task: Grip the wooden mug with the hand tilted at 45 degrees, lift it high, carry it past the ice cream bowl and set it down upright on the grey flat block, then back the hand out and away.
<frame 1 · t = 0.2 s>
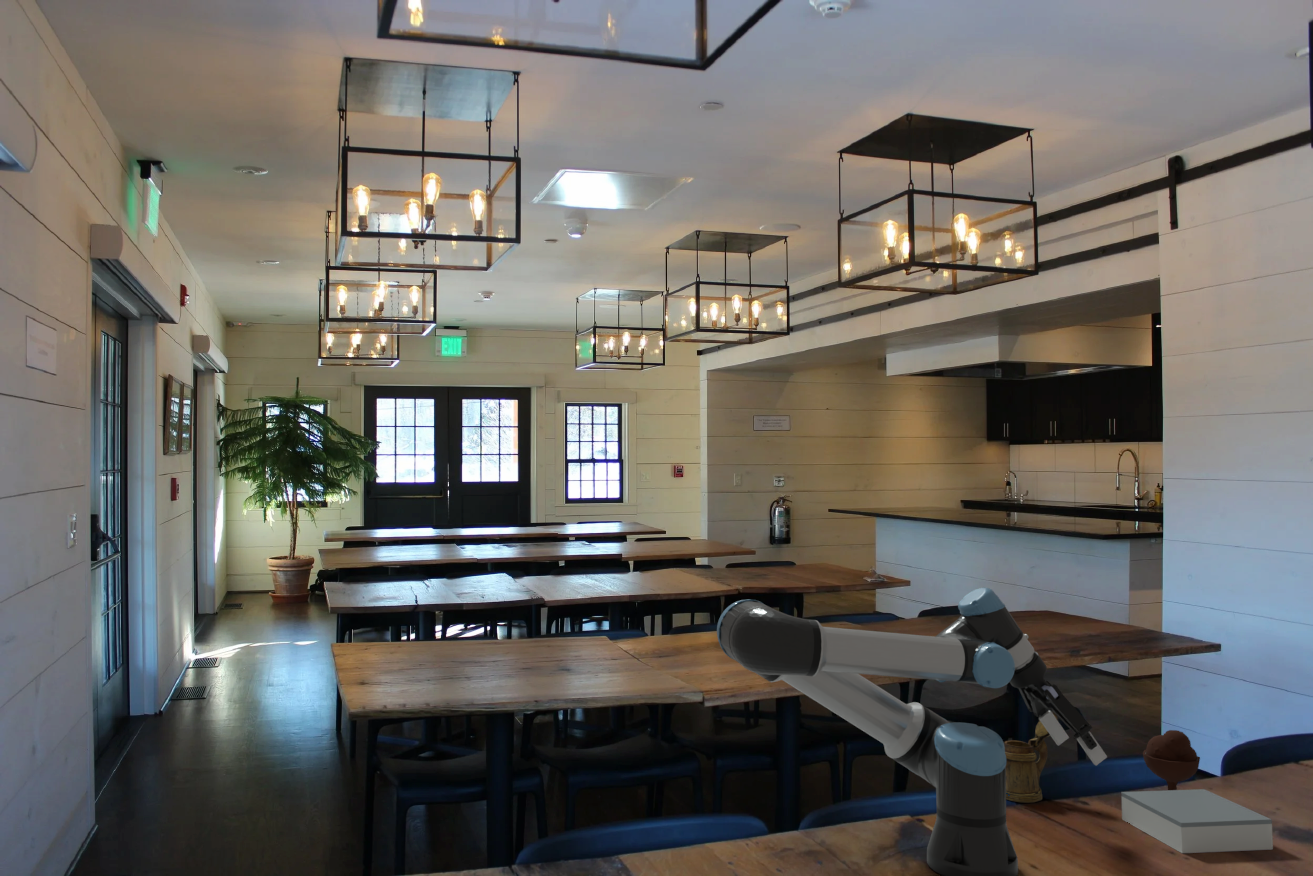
hand: (1081, 750, 182), 16 cm above the table, tool tilted 35°, fingers open, 13 cm apart
ice cream bowl: (1172, 801, 201), on the table
grey flat block: (1194, 833, 181), on the table
wooden mug: (1029, 797, 203), on the table
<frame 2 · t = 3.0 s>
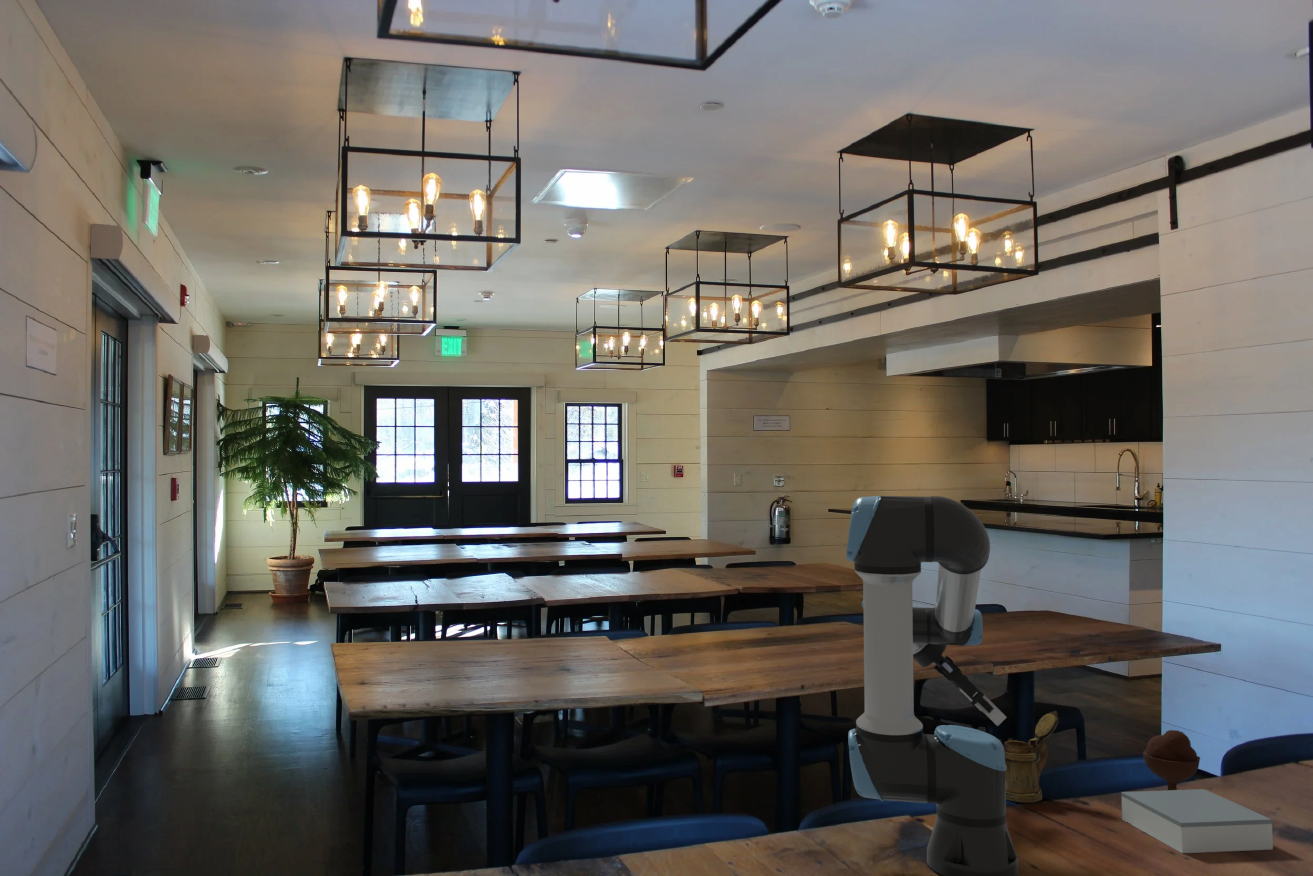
hand: (993, 713, 205), 17 cm above the table, tool tilted 45°, fingers open, 13 cm apart
nothing on the table moved.
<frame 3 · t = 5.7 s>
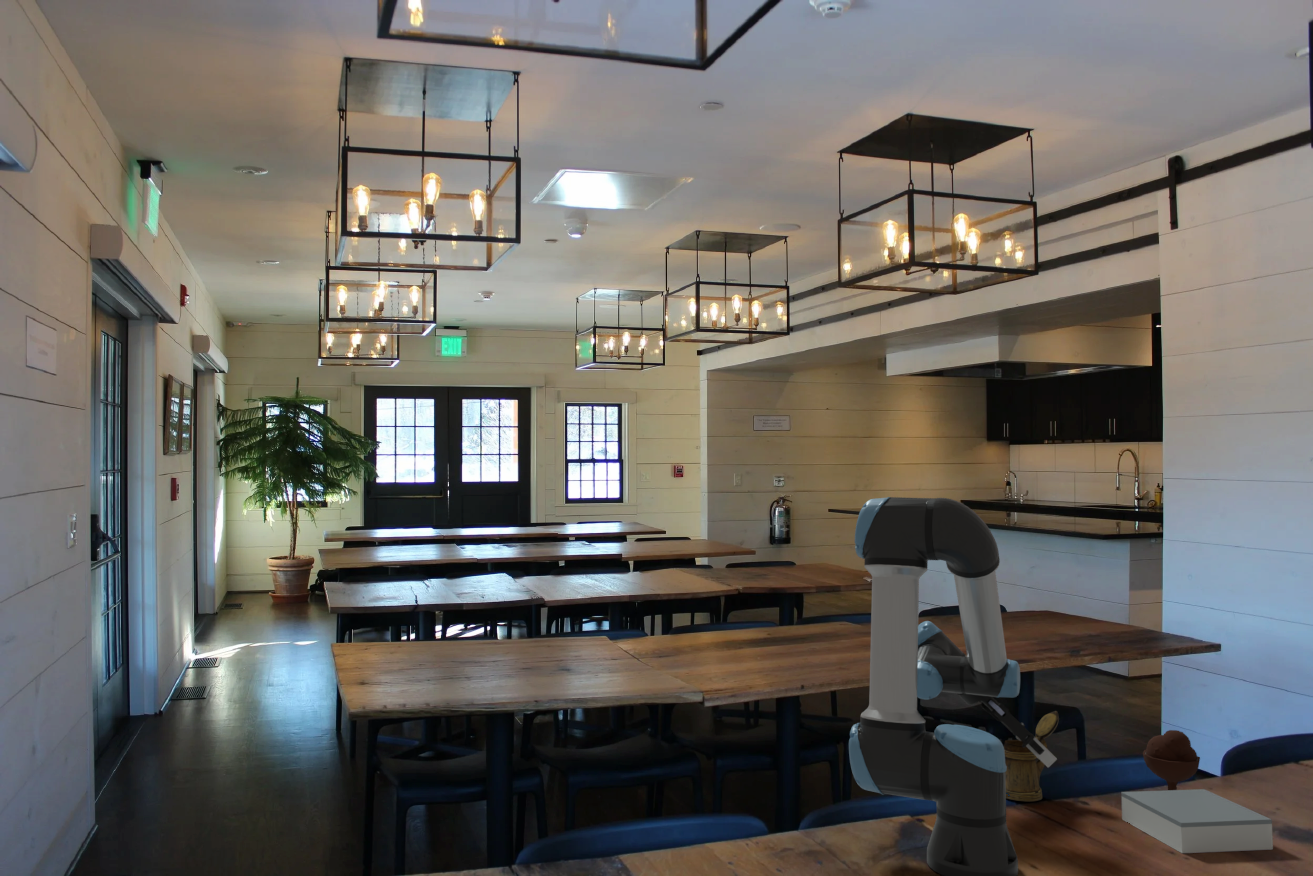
hand: (1047, 758, 203), 8 cm above the table, tool tilted 45°, fingers closed on wooden mug, 6 cm apart
wooden mug: (1029, 796, 203), on the table, touching gripper
everything else where it was.
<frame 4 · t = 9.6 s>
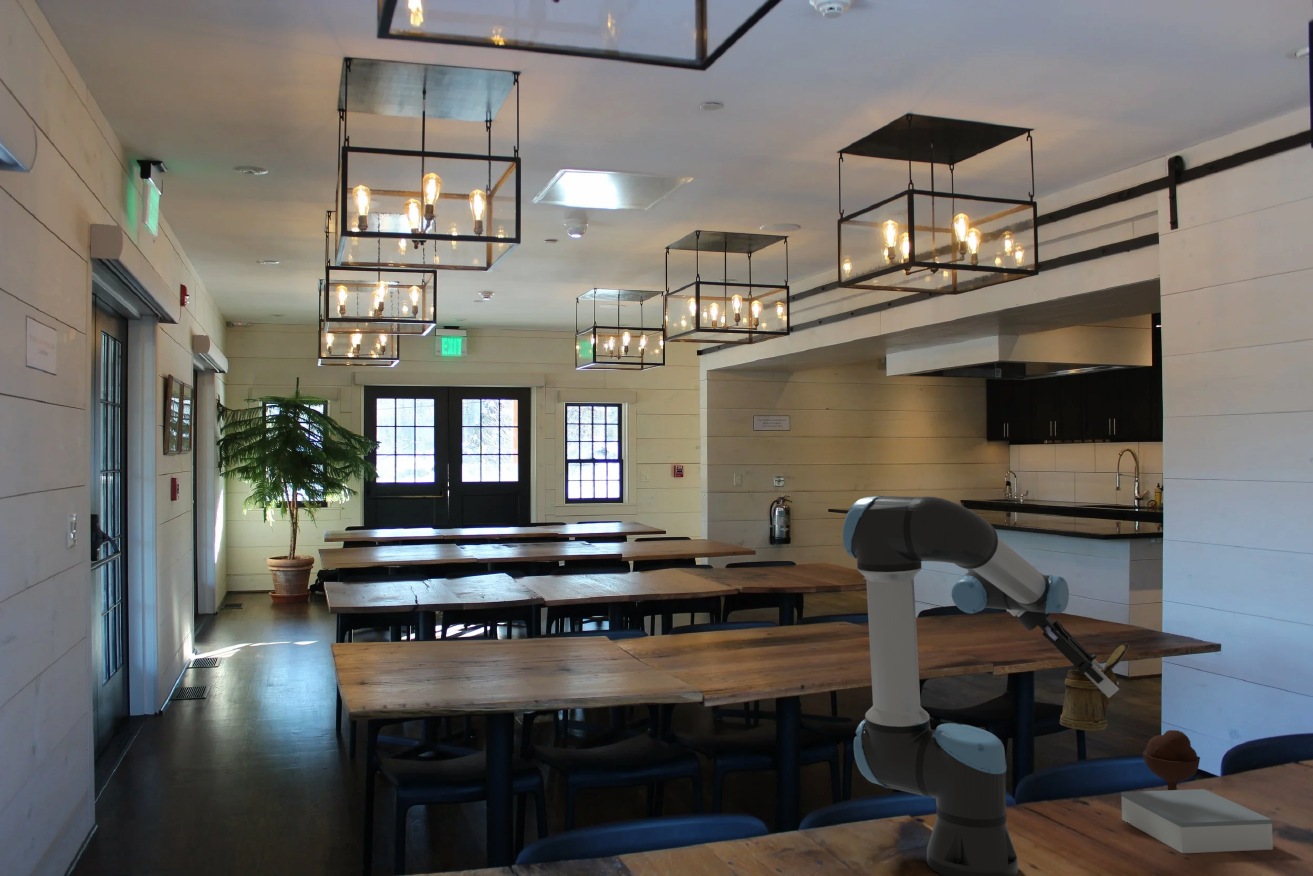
hand: (1113, 690, 196), 24 cm above the table, tool tilted 45°, fingers closed on wooden mug, 6 cm apart
wooden mug: (1094, 728, 197), point 16 cm above the table, touching gripper
everything else where it was.
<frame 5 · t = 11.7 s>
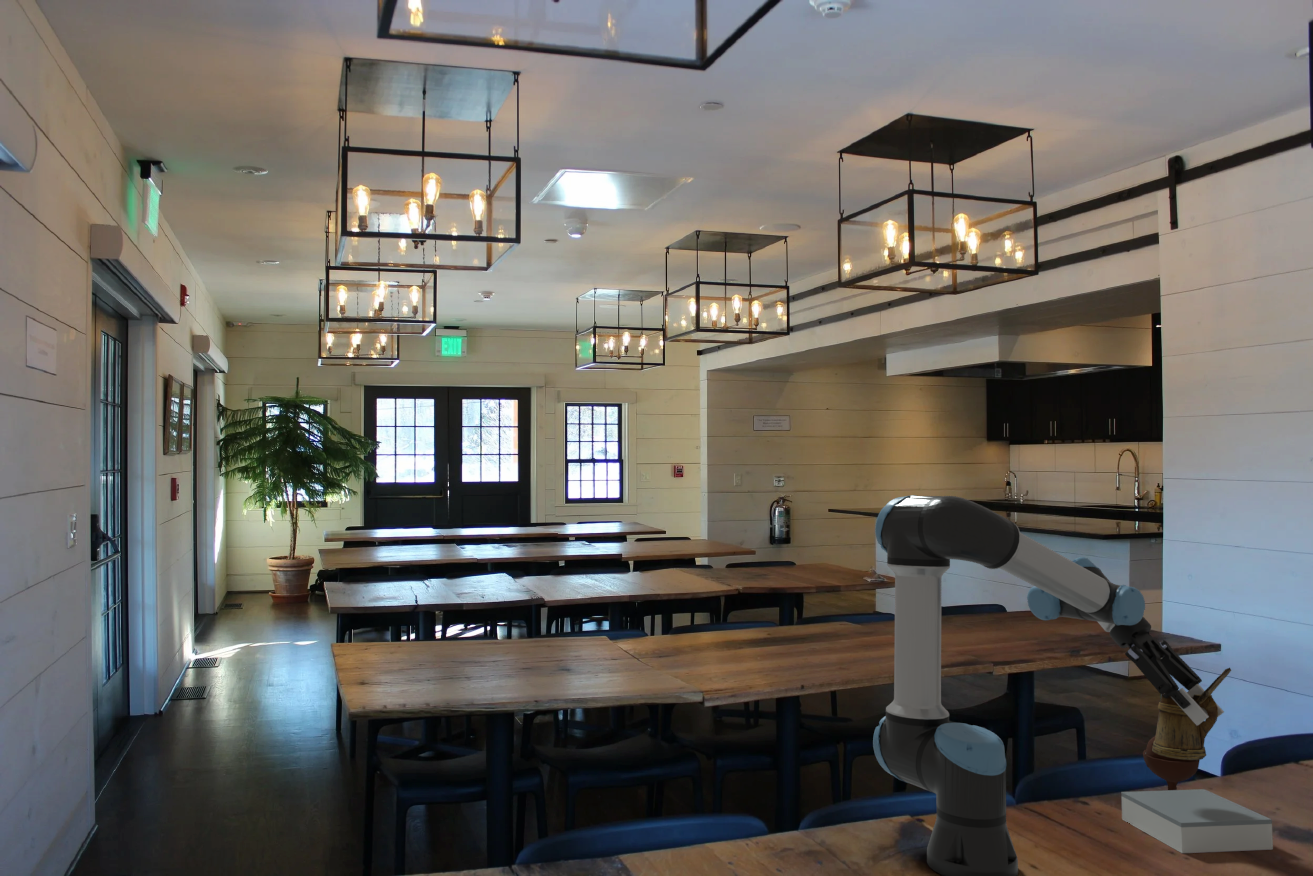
hand: (1210, 718, 179), 23 cm above the table, tool tilted 45°, fingers closed on wooden mug, 6 cm apart
wooden mug: (1191, 757, 182), point 14 cm above the table, touching gripper
everything else where it was.
when the fingers open (15 cm above the table, at t = 13.6 s): wooden mug drops 1 cm, resting on grey flat block.
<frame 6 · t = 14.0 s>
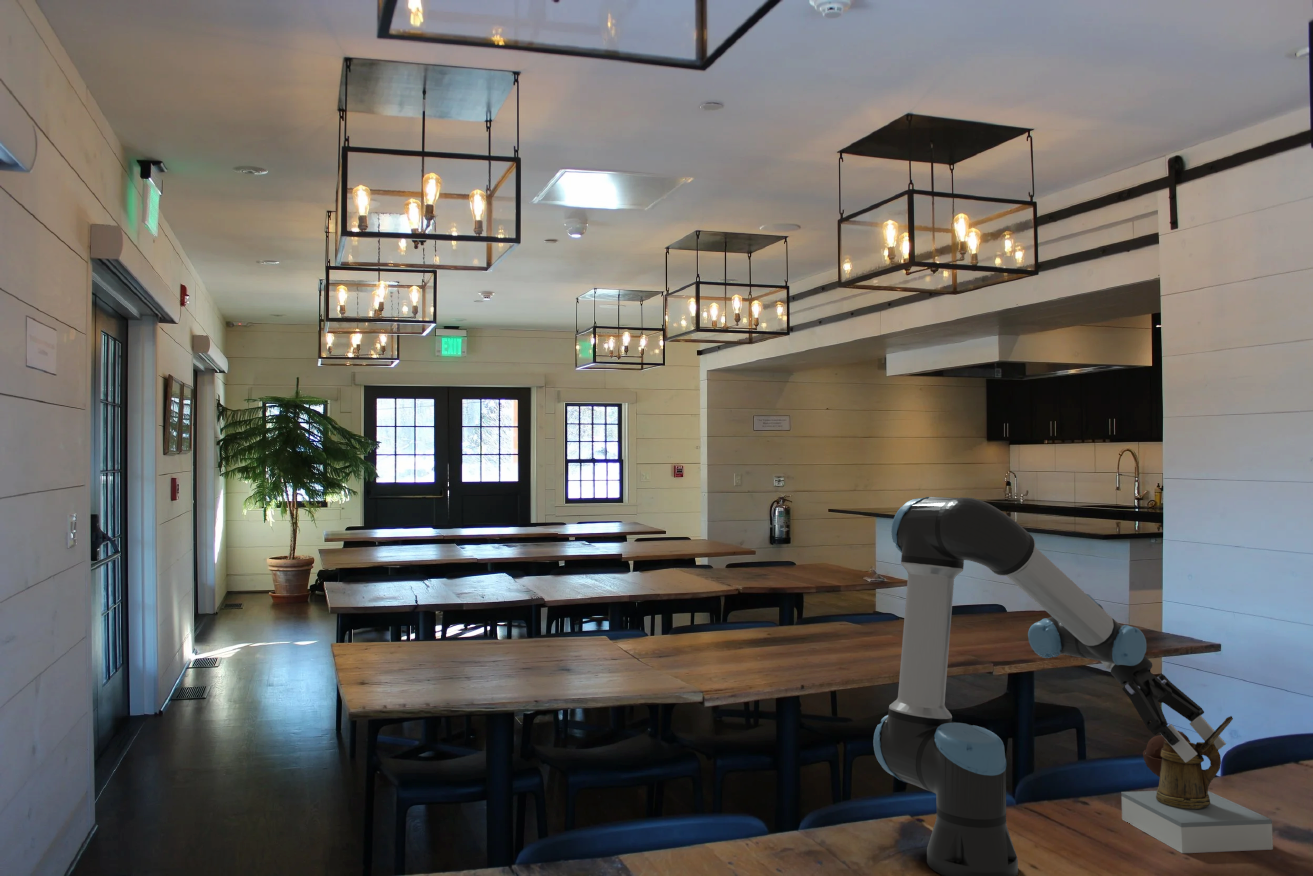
hand: (1206, 753, 180), 16 cm above the table, tool tilted 45°, fingers open, 11 cm apart
wooden mug: (1195, 806, 181), point 5 cm above the table, touching grey flat block
everything else where it was.
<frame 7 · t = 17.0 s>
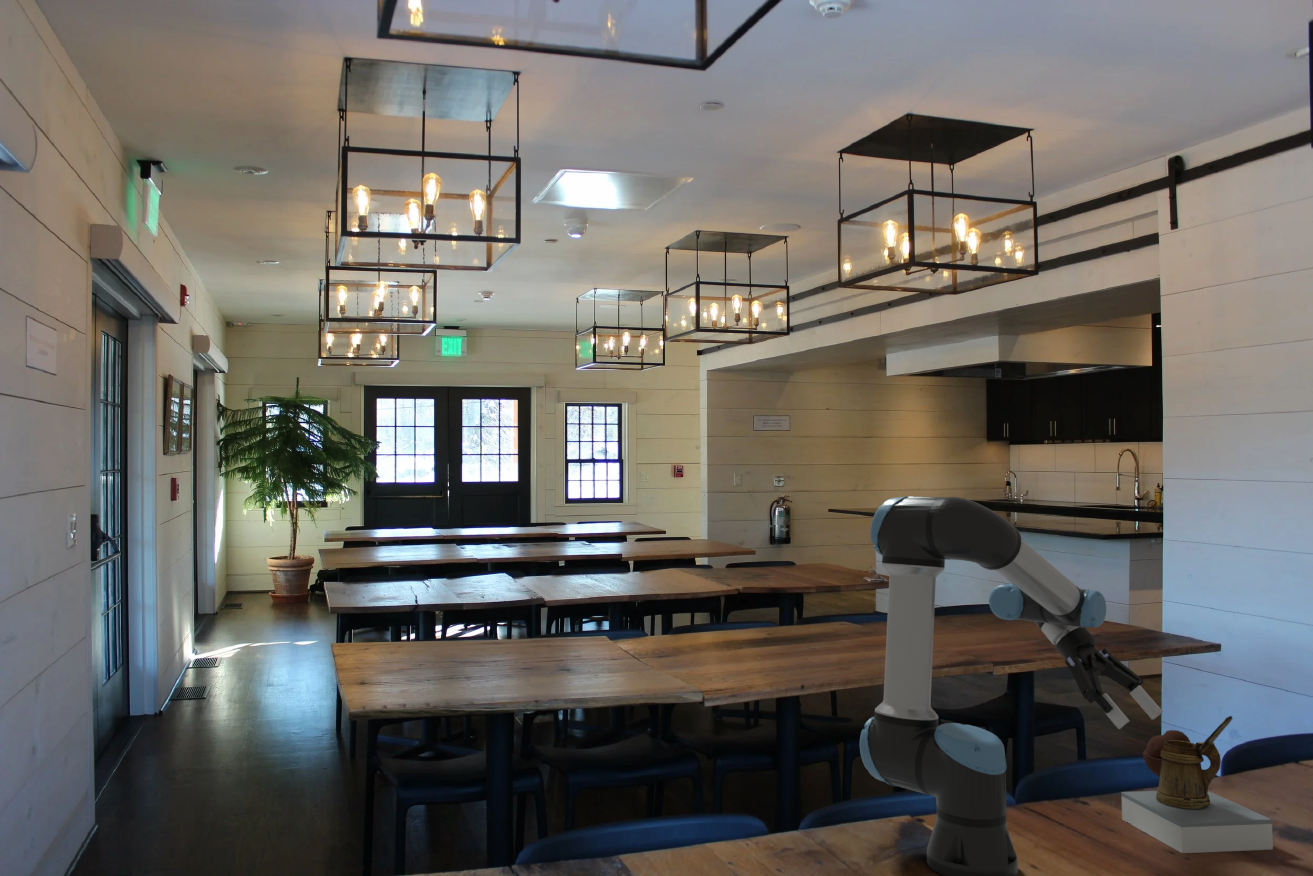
hand: (1141, 720, 190), 20 cm above the table, tool tilted 45°, fingers open, 13 cm apart
nothing on the table moved.
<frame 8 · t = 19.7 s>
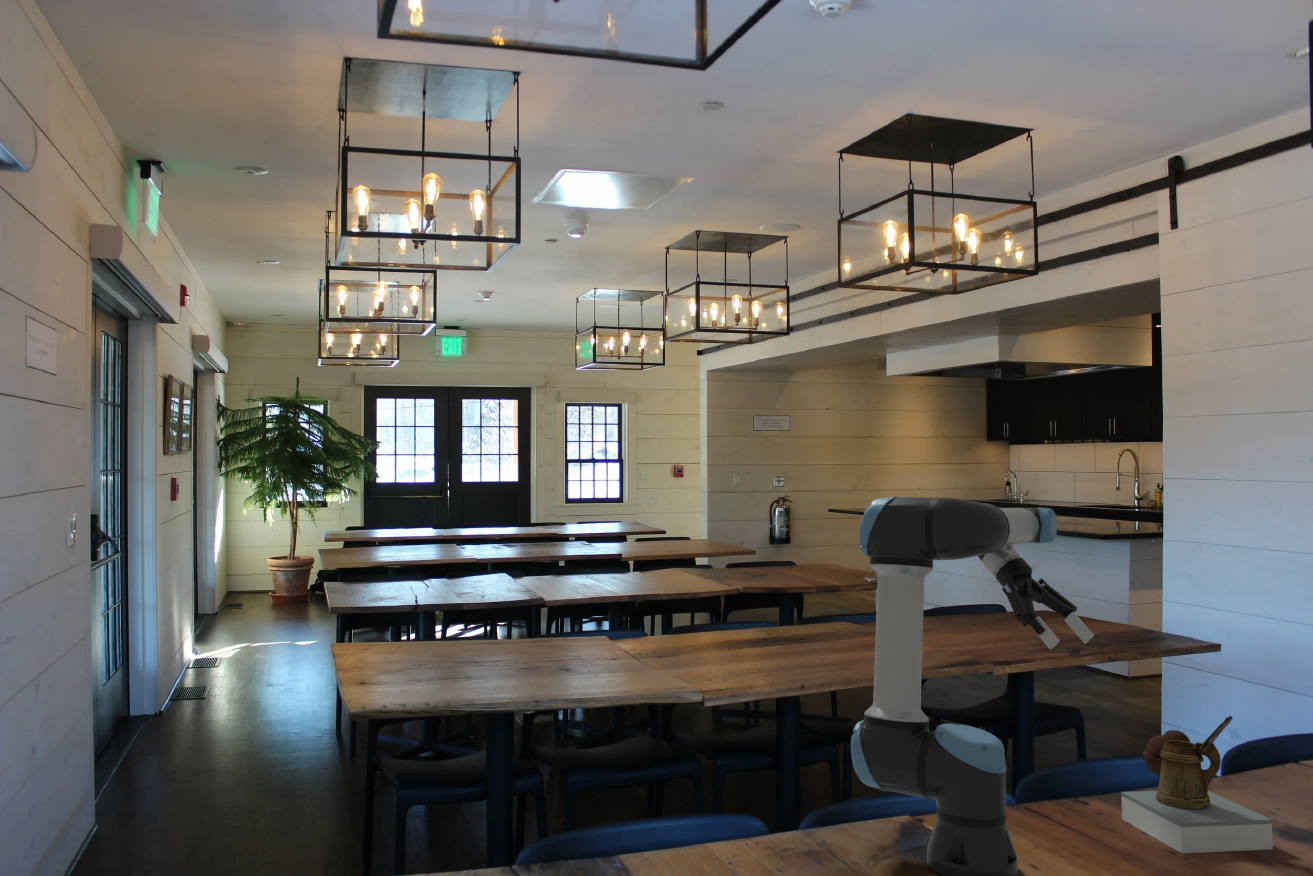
hand: (1072, 642, 200), 34 cm above the table, tool tilted 45°, fingers open, 13 cm apart
nothing on the table moved.
at the end: wooden mug inside the target area on the grey flat block (0.5 cm from its centre), point 5.2 cm above the grey flat block's base; wooden mug tilted 0°; the gripper is holding nothing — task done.
